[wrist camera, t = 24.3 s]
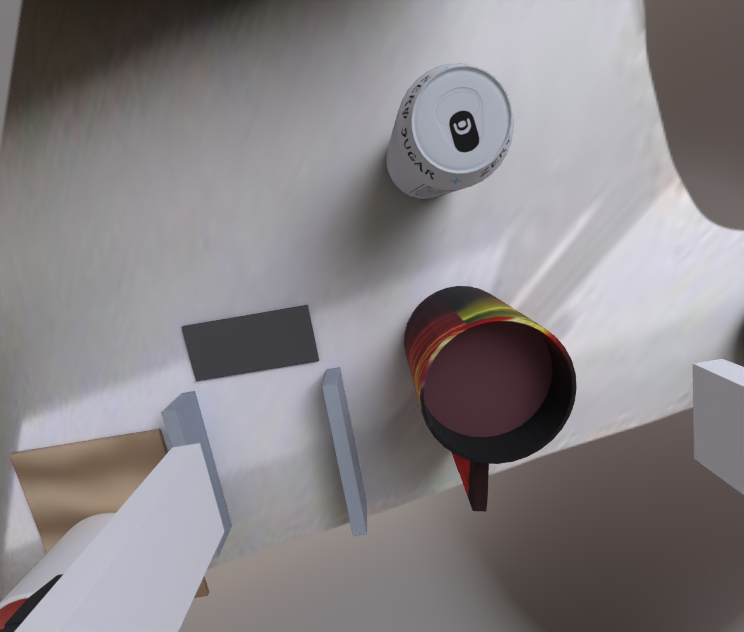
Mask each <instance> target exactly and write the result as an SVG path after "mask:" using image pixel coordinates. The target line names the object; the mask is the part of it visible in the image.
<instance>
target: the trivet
mask: <svg viewBox="0 0 744 632" xmlns="http://www.w3.org/2000/svg"><path fill="white" fill-rule="evenodd" d="M167 453H168V452H167V449H166V445H165V442H164V439H163V435H162V432H161V429H156V430H150V431H144V432H138V433H131V434H125V435H119V436H113V437H107V438H101V439H95V440H88V441H82V442H76V443H70V444H64V445H58V446H52V447H45V448H39V449H33V450H27V451H21V452H15V453H12V454H10V458H11V460H12V463H13V465H14V468H15V471H16V473H17V476H18V478H19V481H20V484H21V486H22V489H23V492H24V494H25V497H26V499H27V502H28V505H29V507H30V510H31V512H32V515H33V518H34V520H35V523H36V526H37V528H38V531H39V533H40V536H41V539H42V541H43V544H44V546H45V549H46V552H47V553H48V552H49V551H50V550H51V549H52V548H53V547H54V545H55V544H56V543H57V542H58V541H59V540H60V539H61V538H62V537H63V536H64V535H65V534H66V533H67V532H68V531H69V530H70V529H71V528H72V527H73V526H74V525H76V524H77V523H79V522H80V521H82V520H84V519H86V518H88V517H91V516H93V515H97V514H102V513H117V511H118V510H119V509H120V508H121V507H122V506H123V504H124V503H125V502H126V501H127V500H128V499H129V497H130V496H131V495H132V494H133V493H134V492H135V490H136V489H137V488H138V487H139V486H140V485H141V483H142V482H143V481H144V480H145V479H146V478H147V476H148V475H149V474H150V473H151V472H152V471H153V469H154V468H155V467H156V466H157V465H158V464H159V462H160V461H161V460H162V459H163V458H164V457H165V455H166V454H167ZM208 594H209V590H208V587H207V583H206V580H205V577H203V579H202V581H201V583H200V586H199V588H198V590H197V592H196V594H195V596H194V598H196V597H202V596H208Z"/></svg>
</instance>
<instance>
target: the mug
mask: <svg viewBox="0 0 744 632" xmlns="http://www.w3.org/2000/svg"><path fill="white" fill-rule="evenodd" d="M404 344H405V351H406V356H407V360H408V363H409V367H410V371H411V374H412V378H413V382H414V385H415V389H416V393H417V396H418V400H419V404H420V407H421V411H422V414H423V417H424V419H425V422H426V425H427V426H428V428H429V429H430V431H431V433H432V434H433V436H434V437H435V438H436V439H437V440H438V441H439V442H440V443H441V444H442V445H443V446H444V447H445V448H447V449H448V450H450V451H451V452H452V455H453V458H454V461H455V463H456V466H457V469H458V472H459V473H460V476H461V479H462V482H463V485H464V487H465V490H466V493H467V496H468V499H469V501H470V504H471V507H472V510H473V511H486V508H487V496H488V495H487V494H488V470H489V464H500V463H506V462H513V461H516V460H519V459H522V458H525V457H528V456H529V455H531V454H533V453H535V452H537V451H539V450H540V449H542V448H543V447H544V446H546V445H547V444H548V443H549V442H551V441H552V440H553V439H554V438H555V436H556V435H557V434H558V433H559V432H560V431H561V430H562V428H563V426H564V425H565V423H566V421H567V420H568V418H569V416H570V414H571V411H572V408H573V405H574V402H575V395H576V373H575V370H574V367H573V363H572V360H571V358H570V356H569V354H568V352H567V351H566V349H565V347H564V346H563V345H562V344H561V342H560V341H559V340H558V339H557V338H556V337H555V336H554V335H553V334H552V333H550V332H549V331H548V330H546V329H545V328H544V327H542V326H540V325H539V324H537V323H536V322H534V321H533V320H531V319H529V318H528V317H526V316H525V315H523V314H521V313H520V312H518V311H517V310H515V309H513V308H512V307H510V306H509V305H507V304H505V303H504V302H502V301H501V300H499V299H497V298H496V297H494V296H493V295H491V294H489V293H487V292H485V291H483V290H481V289H478V288H473V287H469V286H456V287H449V288H445V289H443V290H440V291H437V292H435V293H434V294H432V295H430V296H429V297H427V298H426V299H425V300H424V301H423V302H421V303H420V304H419V305H418V307H417V308H416V309H415V311H414V312H413V313H412V315H411V317H410V319H409V321H408V324H407V327H406V331H405V342H404Z"/></svg>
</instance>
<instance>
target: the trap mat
mask: <svg viewBox="0 0 744 632" xmlns="http://www.w3.org/2000/svg"><path fill="white" fill-rule="evenodd" d="M182 331H183V334H184V338H185V342H186V345H187V349H188V353H189V356H190V360H191V364H192V367H193V371H194V375H195V378H196V381H200V380H206V379H212V378H218V377H224V376H230V375H236V374H242V373H248V372H254V371H260V370H267V369H273V368H279V367H285V366H291V365H297V364H303V363H309V362H315V361H319V358H318V353H317V348H316V343H315V338H314V334H313V329H312V324H311V319H310V314H309V309H308V305H305V306H299V307H293V308H287V309H281V310H275V311H269V312H263V313H258V314H252V315H246V316H240V317H234V318H228V319H222V320H216V321H210V322H204V323H199V324H193V325H187V326H182Z"/></svg>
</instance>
